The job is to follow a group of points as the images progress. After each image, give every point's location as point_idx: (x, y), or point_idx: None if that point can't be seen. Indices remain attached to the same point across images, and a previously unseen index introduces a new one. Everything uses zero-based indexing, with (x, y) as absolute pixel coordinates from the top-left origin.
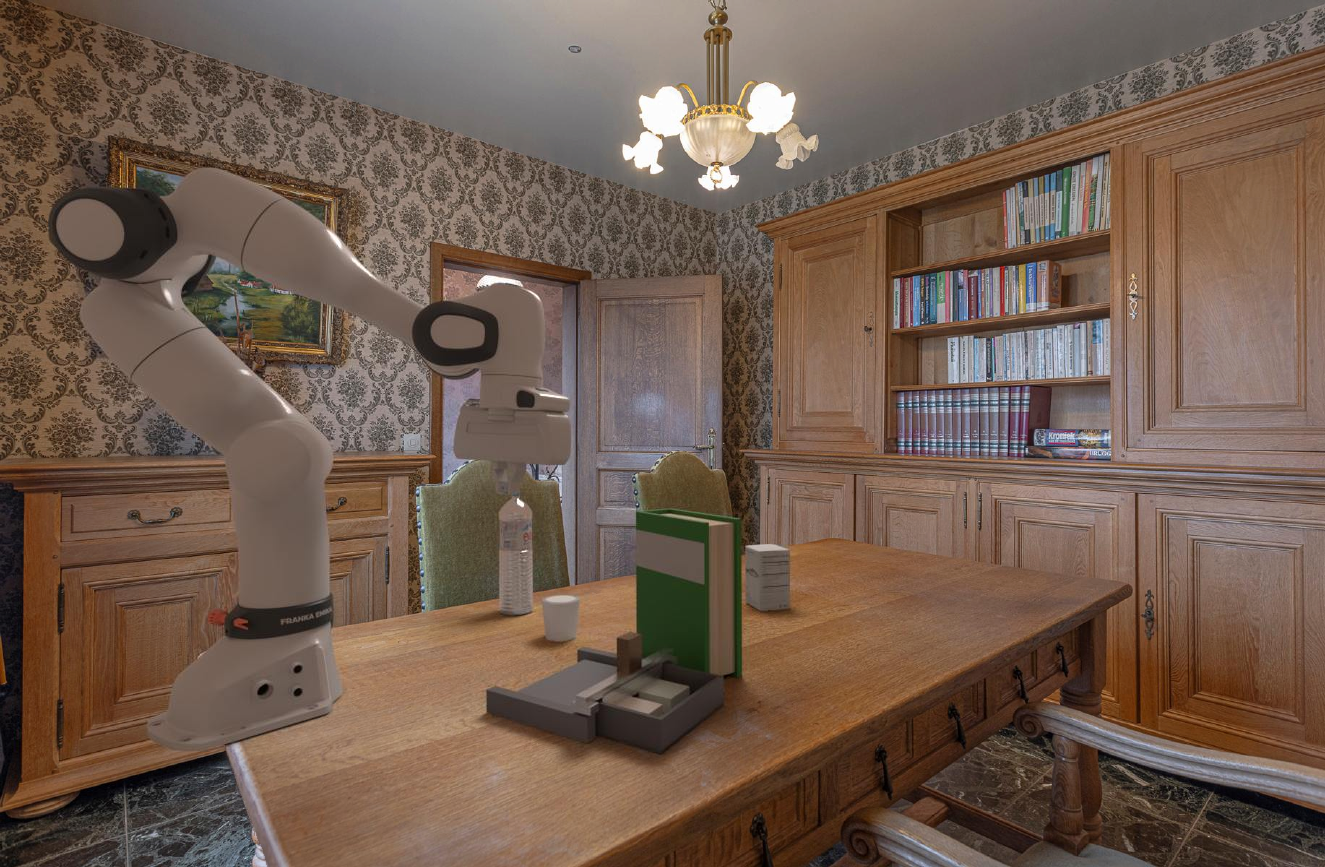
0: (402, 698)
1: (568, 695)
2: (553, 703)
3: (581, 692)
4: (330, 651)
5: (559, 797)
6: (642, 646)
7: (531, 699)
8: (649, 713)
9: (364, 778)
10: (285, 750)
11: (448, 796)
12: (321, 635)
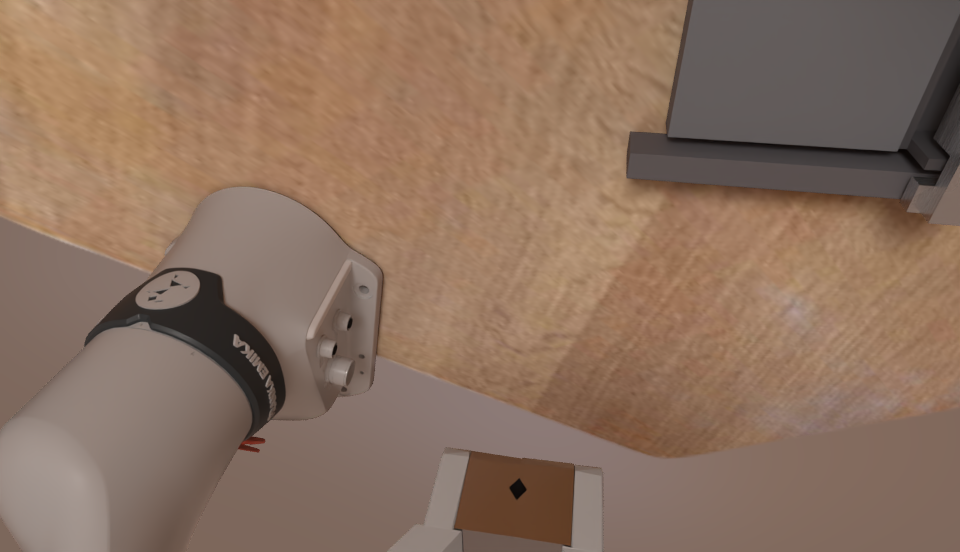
0: (421, 177)
1: (821, 76)
2: (827, 172)
3: (938, 204)
4: (285, 286)
5: (933, 321)
6: None
7: (762, 176)
8: None
9: (612, 365)
10: (450, 352)
11: (756, 362)
12: (281, 333)
